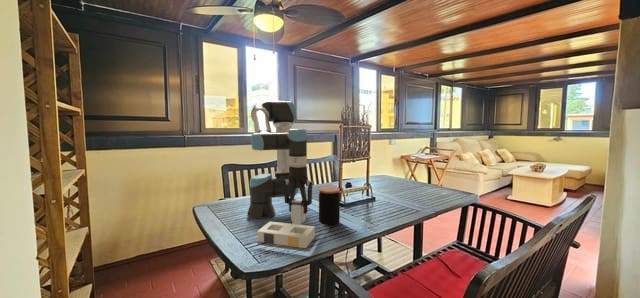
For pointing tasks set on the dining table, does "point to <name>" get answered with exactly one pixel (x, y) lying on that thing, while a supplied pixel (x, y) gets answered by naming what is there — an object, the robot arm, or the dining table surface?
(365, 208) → the dining table surface
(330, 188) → the coffee jar
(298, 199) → the plug
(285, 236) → the port box
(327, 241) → the dining table surface
